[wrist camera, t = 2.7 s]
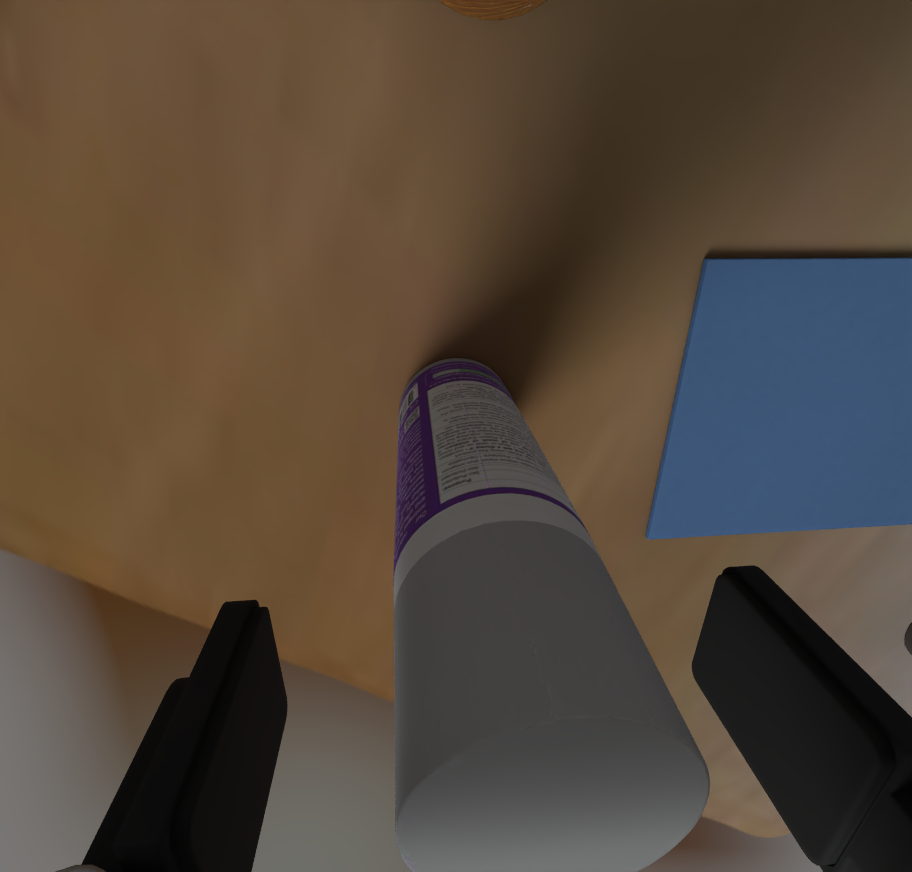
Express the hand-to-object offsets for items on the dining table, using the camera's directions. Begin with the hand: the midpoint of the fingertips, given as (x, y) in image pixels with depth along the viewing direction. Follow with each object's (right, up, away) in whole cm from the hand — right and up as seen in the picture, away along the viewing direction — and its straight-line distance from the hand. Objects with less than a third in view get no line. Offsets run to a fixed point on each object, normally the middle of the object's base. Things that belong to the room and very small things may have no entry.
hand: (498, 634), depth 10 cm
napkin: (+19, +5, +12) cm, 23 cm away
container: (-1, +5, +10) cm, 12 cm away
